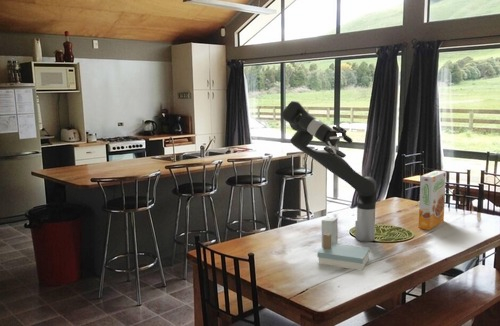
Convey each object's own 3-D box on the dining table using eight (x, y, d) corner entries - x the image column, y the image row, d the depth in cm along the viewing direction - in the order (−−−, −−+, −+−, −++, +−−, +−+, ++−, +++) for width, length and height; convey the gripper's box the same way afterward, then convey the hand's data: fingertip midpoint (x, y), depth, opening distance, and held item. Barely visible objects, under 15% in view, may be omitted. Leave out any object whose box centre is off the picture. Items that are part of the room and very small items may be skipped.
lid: (317, 257, 206) (317, 238, 205) (327, 246, 220) (327, 229, 219) (362, 263, 198) (363, 244, 196) (369, 252, 212) (370, 234, 210)
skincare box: (332, 250, 224) (332, 221, 221) (320, 248, 227) (321, 220, 224) (337, 245, 231) (338, 217, 228) (326, 243, 234) (326, 216, 231)
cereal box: (429, 229, 254) (432, 177, 249) (418, 227, 258) (420, 176, 254) (443, 220, 271) (446, 171, 266) (432, 219, 275) (435, 170, 270)
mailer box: (318, 263, 207) (318, 254, 207) (327, 253, 220) (327, 244, 219) (362, 270, 199) (362, 260, 198) (368, 259, 211) (369, 250, 211)
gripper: (328, 115, 206) (358, 134, 200) (319, 139, 216) (346, 158, 209) (319, 120, 201) (349, 140, 195) (310, 144, 211) (338, 164, 204)
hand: (348, 149), depth 202 cm, fingers open, 8 cm apart
